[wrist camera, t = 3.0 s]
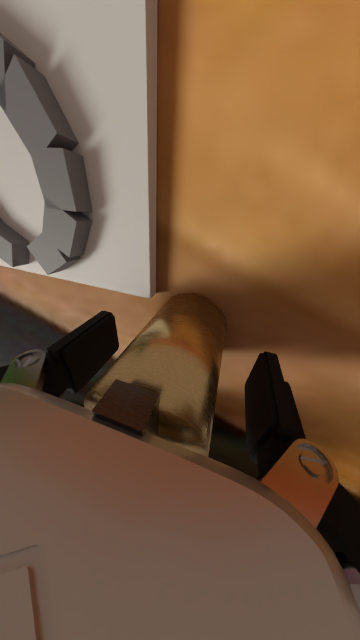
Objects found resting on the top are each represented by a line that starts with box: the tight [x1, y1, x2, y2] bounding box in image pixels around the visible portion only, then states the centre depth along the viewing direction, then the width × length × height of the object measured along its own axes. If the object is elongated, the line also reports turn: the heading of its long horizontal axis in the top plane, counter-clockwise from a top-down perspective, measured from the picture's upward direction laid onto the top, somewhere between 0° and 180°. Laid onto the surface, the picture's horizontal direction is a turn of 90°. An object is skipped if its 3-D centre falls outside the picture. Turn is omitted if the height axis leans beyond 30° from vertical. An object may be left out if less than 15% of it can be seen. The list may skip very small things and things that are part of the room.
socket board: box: [0, 0, 158, 298], centre depth 10 cm, size 18×12×2 cm, turn 85°
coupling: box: [84, 293, 226, 457], centre depth 9 cm, size 5×6×9 cm
